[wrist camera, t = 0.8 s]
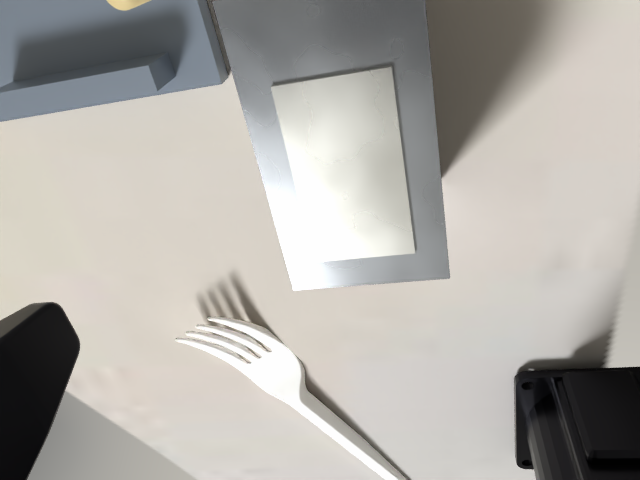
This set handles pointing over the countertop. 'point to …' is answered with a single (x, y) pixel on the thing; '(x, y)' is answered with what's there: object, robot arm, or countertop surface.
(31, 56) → the tray
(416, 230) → the block
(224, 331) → the fork
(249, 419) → the countertop surface
